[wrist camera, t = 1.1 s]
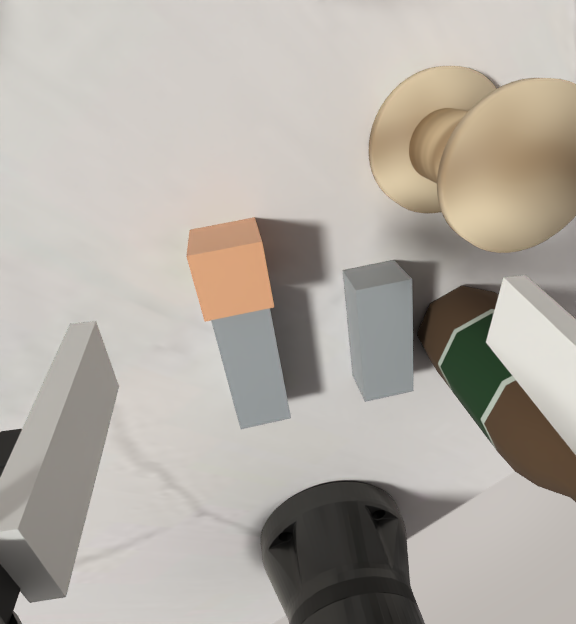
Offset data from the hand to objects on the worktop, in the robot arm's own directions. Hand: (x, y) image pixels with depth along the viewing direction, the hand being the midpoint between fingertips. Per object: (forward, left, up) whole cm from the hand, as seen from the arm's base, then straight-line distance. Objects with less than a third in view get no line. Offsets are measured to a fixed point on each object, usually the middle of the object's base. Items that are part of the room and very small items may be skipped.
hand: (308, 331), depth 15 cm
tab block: (-4, +3, -18) cm, 18 cm away
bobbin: (+1, -12, -18) cm, 22 cm away
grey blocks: (-12, -2, -18) cm, 21 cm away
